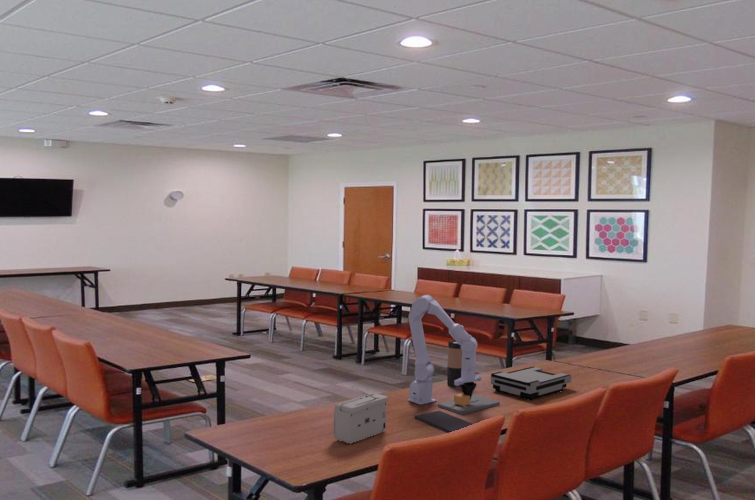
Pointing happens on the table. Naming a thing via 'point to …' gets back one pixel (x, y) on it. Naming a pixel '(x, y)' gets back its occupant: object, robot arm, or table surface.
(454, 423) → the notebook
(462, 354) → the robot arm
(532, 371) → the game console
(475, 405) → the fader panel
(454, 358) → the travel mug
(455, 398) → the fader knob
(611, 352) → the table surface
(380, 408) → the stereo radio cassette player
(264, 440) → the table surface
